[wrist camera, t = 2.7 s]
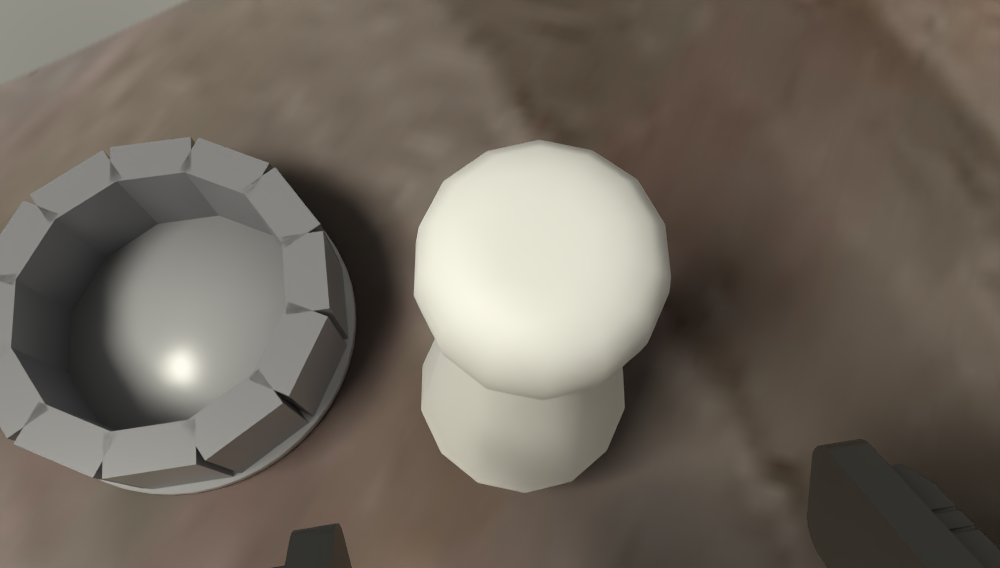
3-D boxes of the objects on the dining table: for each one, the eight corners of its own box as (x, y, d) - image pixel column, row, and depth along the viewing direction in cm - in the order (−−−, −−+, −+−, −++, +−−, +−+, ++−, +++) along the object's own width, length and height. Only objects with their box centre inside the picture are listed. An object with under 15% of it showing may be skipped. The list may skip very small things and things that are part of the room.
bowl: (342, 168, 27) (321, 112, 23) (371, 466, 23) (350, 450, 20) (40, 208, 26) (-25, 157, 23) (22, 520, 22) (-59, 513, 19)
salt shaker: (477, 288, 25) (462, 29, 13) (638, 359, 24) (782, 153, 12) (395, 450, 23) (288, 324, 11) (566, 532, 22) (652, 495, 10)
